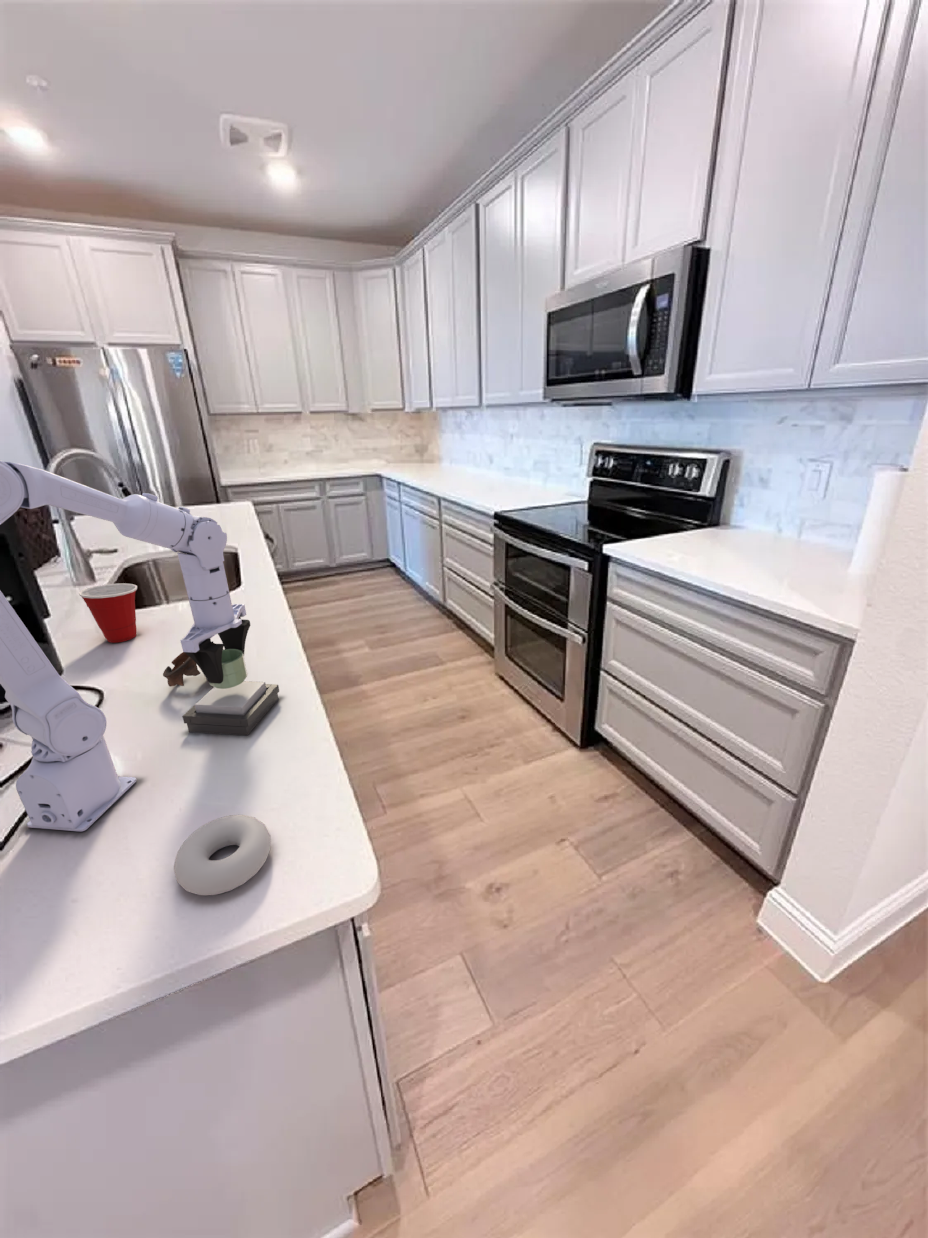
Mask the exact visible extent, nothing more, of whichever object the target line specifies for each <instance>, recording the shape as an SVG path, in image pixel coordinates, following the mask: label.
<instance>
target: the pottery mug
mask: <svg viewBox="0 0 928 1238" xmlns="http://www.w3.org/2000/svg"><path fill="white" fill-rule="evenodd" d="M213 643H214V644H216V643H215V642H213ZM171 664H172V665H173V668H172V667H171V666H169V665H168V666H166V668H165V669H164V670H163V672H162V676H163V677H164V678H165V679H166V680H167V686H168V687H176V686H178V685H179V686H182V687H185V683H184V676H186V677H192V676H193V677H197V676H199V675H201V671H200V670H199V669H198V668H199V667H198V665H197V664H196V663H195V661H194V660H193V659H192V658H190V657H189V656H188V655H187V654H186V653H184V652H183V651H182V652H181V653H179V655H177V656H176V657H175V658H174V659H172V661H171Z"/></svg>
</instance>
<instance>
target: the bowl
mask: <svg viewBox="0 0 928 1238" xmlns="http://www.w3.org/2000/svg"><path fill="white" fill-rule="evenodd" d="M222 670H223V682H222V683H220V684H218V683H209V682H208V684H209V685H210V686H211V687H213V688H214V687H215V688H218V689H226V688H231V687H234V686H237V685H239V684H241V683H242V682H243V681H246V679H247V678H248V669H247V665H246V659H245V654H244V655H243V652H242V651H241V650H238V649H225V648H223V651H222Z"/></svg>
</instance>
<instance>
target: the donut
mask: <svg viewBox="0 0 928 1238" xmlns="http://www.w3.org/2000/svg"><path fill="white" fill-rule="evenodd" d="M229 846H238V848H237V849H236V850H235V851H234V852H233V853H232V854H229V855H228V856H226V857H224V858H220V859H217V860H211V859H210V858H211V856H212V855H213V854H214V853H216V852H217V851H218V850H221V849H223V848H225V847H229ZM270 851H271V834H270V831H269V829H268V827H267V826H266V824H265V823H263V822H262V821H261V820H260V819H258V818H256V817H255V816H251V815H247V814H231V815H226V816H222V817H217V818H216V819H213V820H211V821H208V822H207V823H205V824H203V825H202V826H201V827H199V828H197V829H196V830H194V831H193V833H191V834H190V835H189V836H188V837H187V838H186V839H185V840H184V841H183V843H182V844H181V846H180V847H179V849H178V851H177V853H176V855H175V860H174V863H173V871H174V875H175V879H176V881H177V883H178V884H179V886H181V887H182V888H183V889H184V890H185V891H186V892H188V893H192V894H195V895H198V896H217V895H220V894H223V893H227V892H231V891H232V890H234V889H237V888H238V887H241V886H242V885H244V884H245V883H247V882H248V881H249V880H250V879H252V878H253V877H254V876H255V875H256V874H257V873H258V872H259V871H260V870H261V868H262V867H263V866H264V865H265V863H266V861H267V858H268V856H269V854H270Z"/></svg>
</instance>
